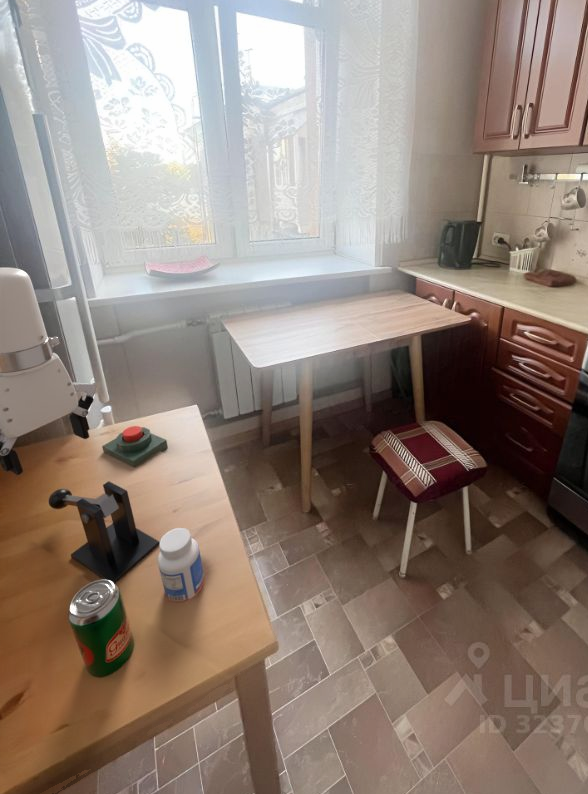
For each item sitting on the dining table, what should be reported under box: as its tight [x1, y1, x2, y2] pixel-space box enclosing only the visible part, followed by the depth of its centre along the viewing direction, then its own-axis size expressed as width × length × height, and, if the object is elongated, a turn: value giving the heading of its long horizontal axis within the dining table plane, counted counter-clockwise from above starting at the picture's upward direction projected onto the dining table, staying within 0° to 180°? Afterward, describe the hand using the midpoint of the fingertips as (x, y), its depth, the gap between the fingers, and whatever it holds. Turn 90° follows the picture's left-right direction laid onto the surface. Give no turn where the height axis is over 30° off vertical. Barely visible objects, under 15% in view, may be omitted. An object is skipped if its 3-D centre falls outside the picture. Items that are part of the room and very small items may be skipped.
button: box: [122, 425, 143, 442], centre depth 84 cm, size 4×4×2 cm
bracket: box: [70, 480, 160, 584], centre depth 61 cm, size 10×8×12 cm
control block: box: [101, 426, 169, 468], centre depth 85 cm, size 10×8×4 cm
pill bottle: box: [157, 527, 205, 603], centre depth 56 cm, size 6×5×10 cm
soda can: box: [67, 578, 135, 679], centre depth 47 cm, size 5×5×12 cm
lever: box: [48, 488, 119, 519], centre depth 63 cm, size 17×3×3 cm, turn 64°
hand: (50, 452), depth 63 cm, fingers open, 9 cm apart
